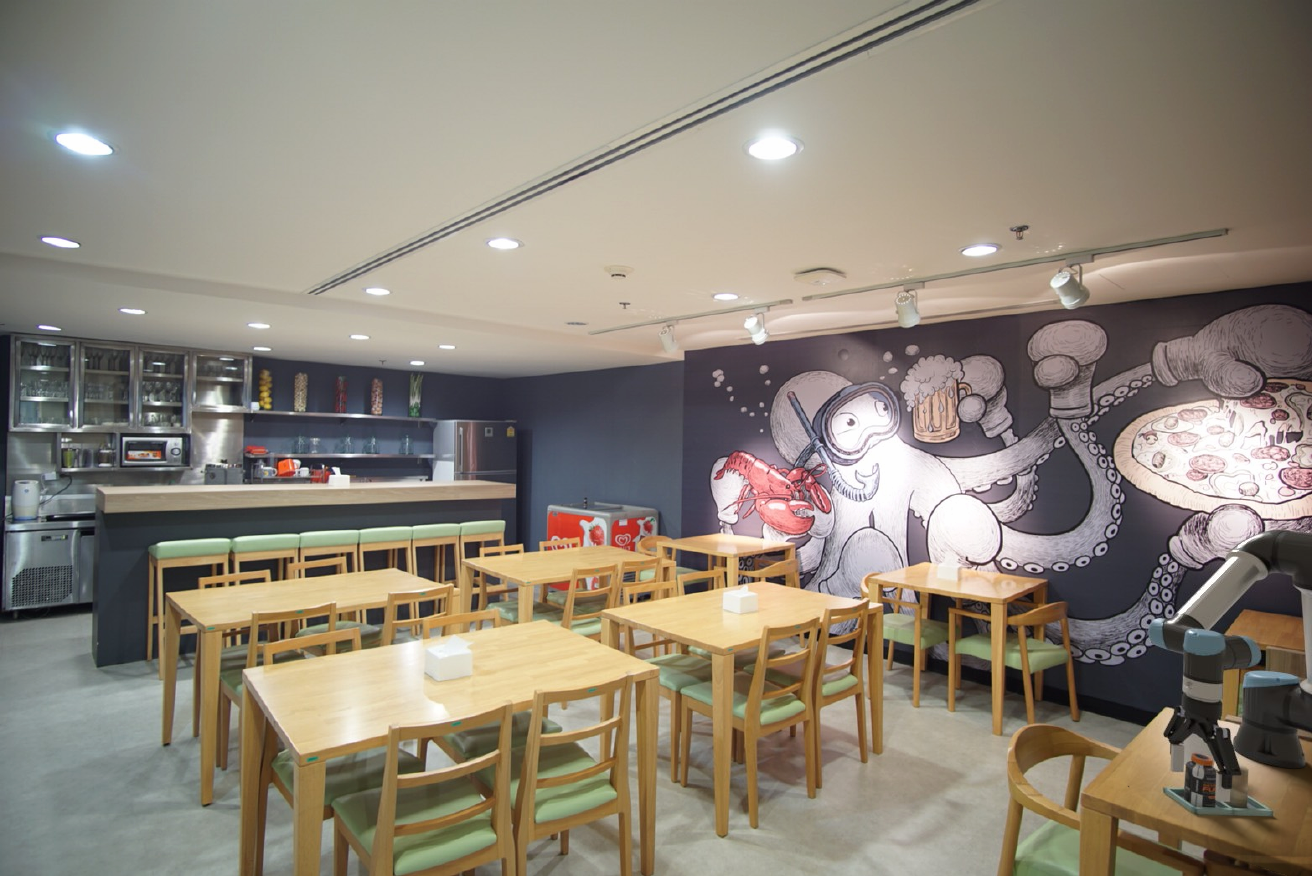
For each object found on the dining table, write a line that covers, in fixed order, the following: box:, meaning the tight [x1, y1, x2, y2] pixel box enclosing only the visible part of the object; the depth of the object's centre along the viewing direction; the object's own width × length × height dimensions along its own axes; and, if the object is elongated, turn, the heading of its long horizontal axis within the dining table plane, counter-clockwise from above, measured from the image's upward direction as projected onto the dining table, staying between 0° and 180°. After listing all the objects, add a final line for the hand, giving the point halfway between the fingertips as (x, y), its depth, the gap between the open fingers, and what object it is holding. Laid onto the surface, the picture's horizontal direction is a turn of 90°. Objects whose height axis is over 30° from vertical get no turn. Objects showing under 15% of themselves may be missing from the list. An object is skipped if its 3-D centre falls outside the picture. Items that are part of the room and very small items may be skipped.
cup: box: [1180, 733, 1216, 768], centre depth 183 cm, size 10×10×11 cm
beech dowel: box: [1224, 763, 1249, 808], centre depth 164 cm, size 4×4×9 cm
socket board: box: [1162, 786, 1274, 817], centre depth 164 cm, size 18×10×2 cm, turn 90°
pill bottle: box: [1183, 753, 1217, 808], centre depth 163 cm, size 6×6×11 cm
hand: (1198, 785), depth 163 cm, fingers open, 13 cm apart
